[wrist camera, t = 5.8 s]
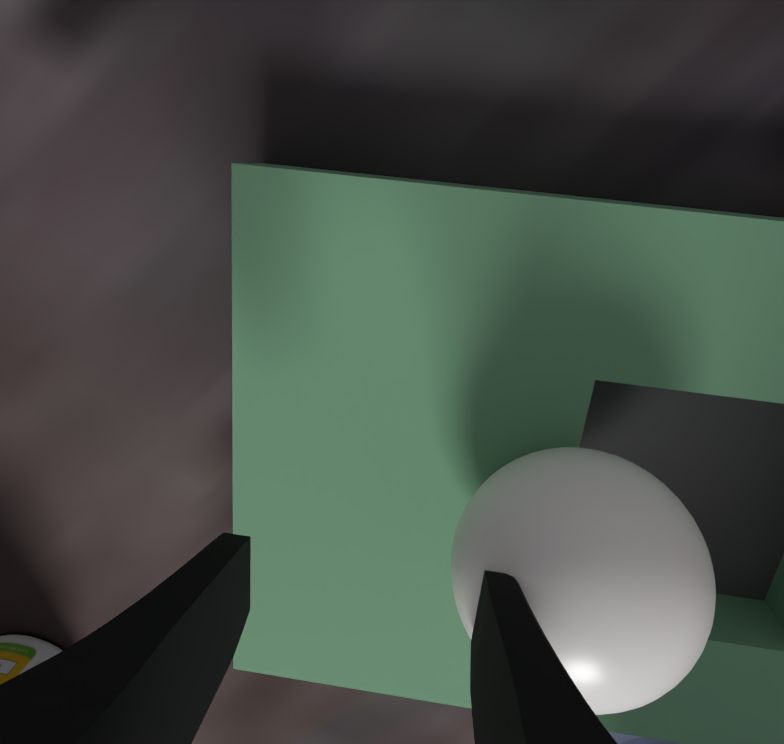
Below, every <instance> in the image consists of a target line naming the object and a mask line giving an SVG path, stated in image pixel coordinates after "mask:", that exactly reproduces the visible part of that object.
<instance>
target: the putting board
mask: <svg viewBox="0 0 784 744" xmlns="http://www.w3.org/2000/svg"><path fill="white" fill-rule="evenodd" d="M232 420H233V534H237V535H244V536H251V560H250V612H249V615H248V617H247V620H246V623H245V626H244V629H243V632H242V635H241V638H240V641H239V643H238V646H237V649H236V652H235V654H234V656H233V669H239V670H245V671H250V672H256V673H262V674H268V675H274V676H280V677H286V678H292V679H298V680H304V681H310V682H316V683H322V684H328V685H334V686H340V687H346V688H352V689H358V690H364V691H370V692H376V693H382V694H388V695H394V696H400V697H406V698H412V699H418V700H424V701H430V702H436V703H442V704H448V705H454V706H460V707H466V708H472V706H471V695H470V658H471V639H470V637H469V635H468V633H467V631H466V629H465V628H464V626H463V623H462V620H461V618H460V615H459V613H458V610H457V606H456V602H455V598H454V594H453V589H452V581H451V554H452V545H453V540H454V536H455V532H456V528H457V526H458V523H459V521H460V518H461V516H462V513H463V511H464V509H465V508H466V506H467V504H468V502H469V501H470V499H471V498H472V496H473V495H474V494H475V492H476V491H477V490H478V488H479V487H480V486H481V485H482V484H483V483H484V482H485V481H486V480H487V479H488V478H489V477H490V476H491V475H492V474H494V473H495V472H496V471H498V470H499V469H500V468H502V467H503V466H505V465H506V464H508V463H510V462H512V461H513V460H515V459H518V458H520V457H523V456H525V455H528V454H530V453H533V452H537V451H541V450H545V449H551V448H560V447H580V448H587V449H594V450H599V451H602V452H606V453H609V454H613V455H616V456H619V457H621V458H623V459H626V460H628V461H631V462H632V463H634V464H636V465H638V466H639V467H641V468H643V469H645V470H646V471H648V472H649V473H651V474H652V475H653V476H655V477H656V478H657V479H659V480H660V481H661V482H662V483H664V484H665V485H666V486H667V487H668V488H669V489H670V490H671V491H672V492H673V493H674V494H675V495H676V496H677V497H678V498H679V499H680V501H681V502H682V503H683V505H684V506H685V507H686V509H687V510H688V511H689V513H690V514H691V516H692V517H693V518H694V520H695V522H696V524H697V526H698V528H699V529H700V531H701V533H702V535H703V537H704V540H705V542H706V544H707V547H708V550H709V553H710V557H711V561H712V565H713V570H714V576H715V585H716V603H715V613H714V620H713V625H712V629H711V632H710V635H709V637H708V640H707V642H706V645H705V648H704V650H703V652H702V654H701V656H700V657H699V659H698V660H697V662H696V663H695V665H694V666H693V668H692V669H691V671H690V672H689V673H688V674H687V675H686V676H685V677H684V678H683V679H682V680H681V681H680V682H679V683H678V685H677V686H676V687H674V688H673V689H671V690H670V691H668V692H667V693H666V694H664V695H663V696H661V697H660V698H658V699H657V700H655V701H653V702H651V703H649V704H646V705H644V706H642V707H639V708H636V709H632V710H629V711H625V712H620V713H613V714H604V715H596V716H597V717H598V719H599V720H600V721H601V723H602V724H603V725H604V727H605V728H606V729H607V731H609V732H615V733H621V734H627V735H633V736H639V737H645V738H651V739H657V740H663V741H669V742H675V743H681V744H784V218H782V217H772V216H763V215H753V214H743V213H734V212H724V211H715V210H705V209H696V208H686V207H677V206H667V205H658V204H648V203H639V202H629V201H619V200H610V199H600V198H591V197H581V196H572V195H562V194H553V193H543V192H534V191H524V190H514V189H505V188H495V187H486V186H476V185H467V184H457V183H448V182H438V181H429V180H419V179H410V178H400V177H390V176H381V175H371V174H362V173H352V172H343V171H333V170H324V169H314V168H305V167H295V166H286V165H276V164H266V163H232Z"/></svg>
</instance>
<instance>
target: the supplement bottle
mask: <svg viewBox="0 0 784 744" xmlns="http://www.w3.org/2000/svg"><path fill="white" fill-rule="evenodd" d="M62 651H63V650H61V649H60V648H58V647H56V646H55V645H53V644H51V643H49V642H46V641H44V640H41V639H38V638H35V637H31V636H25V635H4V636H0V684H2V683H4V682H6V681H8V680H10V679H12V678H14V677H15V676H17V675H19V674H21V673H23V672H25V671H27V670H29V669H30V668H32V667H34V666H36V665H38V664H40V663H42V662H44V661H46V660H47V659H49V658H51V657H53V656H55V655H56V654H58V653H60V652H62Z"/></svg>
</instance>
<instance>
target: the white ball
mask: <svg viewBox="0 0 784 744" xmlns="http://www.w3.org/2000/svg"><path fill="white" fill-rule="evenodd" d="M484 570H487V571H494V572H501V573H506V574H508V575H511V576H513V577H515V579H516V580H517V582H518V583H519V585H520V587H521V589H522V591H523V593H524V595H525V597H526V600H527V602H528V604H529V606H530V608H531V610H532V612H533V613H534V615H535V617H536V619H537V621H538V623H539V625H540V627H541V628H542V630H543V632H544V634H545V636H546V638H547V639H548V641H549V643H550V644H551V646H552V648H553V649H554V651H555V653H556V655H557V656H558V658H559V660H560V661H561V663H562V665H563V666H564V668H565V669H566V671H567V673H568V674H569V676H570V677H571V679H572V681H573V682H574V684H575V685H576V687H577V688H578V690H579V691H580V693H581V694H582V696H583V697H584V699H585V700H586V702H587V703H588V704H589V706H590V707H591V709H592V710H593V712H594V713H595V714H596V715H604V714H613V713H620V712H625V711H629V710H632V709H636V708H639V707H642V706H644V705H646V704H649V703H651V702H653V701H655V700H657V699H658V698H660V697H661V696H663V695H664V694H666V693H667V692H668V691H670V690H671V689H673V688H674V687H676V686H677V685H678V683H679V682H680V681H681V680H682V679H683V678H684V677H685V676H686V675H687V674H688V673H689V672H690V671H691V669H692V668H693V666H694V665H695V663H696V662H697V660H698V659H699V657H700V656H701V654H702V652H703V650H704V648H705V645H706V642H707V640H708V637H709V635H710V632H711V629H712V625H713V620H714V613H715V603H716V585H715V576H714V570H713V565H712V561H711V557H710V553H709V550H708V547H707V544H706V542H705V540H704V537H703V535H702V533H701V531H700V529H699V528H698V526H697V524H696V522H695V520H694V518H693V517H692V516H691V514H690V513H689V511H688V510H687V509H686V507H685V506H684V505H683V503H682V502H681V501H680V499H679V498H678V497H677V496H676V495H675V494H674V493H673V492H672V491H671V490H670V489H669V488H668V487H667V486H666V485H665V484H664V483H662V482H661V481H660V480H659V479H657V478H656V477H655V476H653V475H652V474H651V473H649V472H648V471H646V470H645V469H643V468H641V467H639V466H638V465H636V464H634V463H632V462H631V461H628V460H626V459H623V458H621V457H619V456H616V455H613V454H609V453H606V452H602V451H599V450H594V449H587V448H580V447H560V448H551V449H545V450H541V451H537V452H533V453H530V454H528V455H525V456H523V457H520V458H518V459H515V460H513V461H512V462H510V463H508V464H506V465H505V466H503V467H502V468H500V469H499V470H498V471H496V472H495V473H494V474H492V475H491V476H490V477H489V478H488V479H487V480H486V481H485V482H484V483H483V484H482V485H481V486H480V487H479V488H478V490H477V491H476V492H475V494H474V495H473V496H472V498H471V499H470V501H469V502H468V504H467V506H466V508H465V509H464V511H463V513H462V516H461V518H460V521H459V523H458V526H457V528H456V532H455V536H454V540H453V545H452V554H451V581H452V589H453V594H454V598H455V602H456V606H457V610H458V613H459V615H460V618H461V620H462V623H463V626H464V628H465V629H466V631H467V633H468V635H469V637H470V639H472V633H473V628H474V623H475V618H476V612H477V607H478V602H479V596H480V591H481V586H482V581H483V575H484Z"/></svg>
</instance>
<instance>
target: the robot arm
mask: <svg viewBox="0 0 784 744" xmlns="http://www.w3.org/2000/svg"><path fill="white" fill-rule="evenodd" d="M250 560H251V536H244V535H237V534H230V533H223V534H221V535H220V536H218V537H217V538H216V539H215V540H214V541H212V542H211V543H210V544H209V545H208V546H206V547H205V548H204V549H203V550H202V551H200V552H199V553H198V554H197V555H196V556H194V557H193V558H192V559H191V560H190V561H188V562H187V563H186V564H185V565H183V566H182V567H181V568H180V569H179V570H177V571H176V572H175V573H174V574H172V575H171V576H170V577H168V578H167V579H166V580H165V581H163V582H162V583H161V584H160V585H158V586H157V587H156V588H154V589H153V590H152V591H151V592H149V593H148V594H147V595H145V596H144V597H143V598H141V599H140V600H139V601H137V602H136V603H134V604H133V605H132V606H130V607H129V608H127V609H126V610H125V611H123V612H122V613H120V614H119V615H118V616H116V617H115V618H113V619H112V620H111V621H109V622H108V623H106V624H105V625H103V626H102V627H100V628H99V629H97V630H96V631H94V632H93V633H91V634H90V635H88V636H86V637H85V638H83V639H82V640H80V641H78V642H77V643H75V644H73V645H72V646H70V647H68V648H67V649H65V650H63V651H62V652H60V653H58V654H56V655H55V656H53V657H51V658H49V659H47V660H46V661H44V662H42V663H40V664H38V665H36V666H34V667H32V668H30V669H29V670H27V671H25V672H23V673H21V674H19V675H17V676H15V677H14V678H12V679H10V680H8V681H6V682H4V683H2V684H0V744H191V743H192V741H193V739H194V737H195V735H196V733H197V731H198V729H199V727H200V725H201V723H202V721H203V718H204V716H205V714H206V712H207V710H208V708H209V706H210V704H211V702H212V700H213V698H214V696H215V694H216V692H217V690H218V688H219V686H220V684H221V682H222V679H223V677H224V675H225V673H226V671H227V669H228V667H229V665H230V663H231V661H232V659H233V656H234V654H235V652H236V649H237V646H238V643H239V641H240V638H241V635H242V632H243V629H244V626H245V623H246V620H247V617H248V615H249V612H250ZM470 695H471V706H472V717H473V728H474V738H475V744H681V743H675V742H669V741H663V740H657V739H651V738H645V737H639V736H633V735H627V734H621V733H615V732H609V731H607V729H606V728H605V727H604V725H603V724H602V723H601V721H600V720H599V719H598V717H597V716H596V714H595V713H594V712H593V710H592V709H591V707H590V706H589V704H588V703H587V702H586V700H585V699H584V697H583V696H582V694H581V693H580V691H579V690H578V688H577V687H576V685H575V684H574V682H573V681H572V679H571V677H570V676H569V674H568V673H567V671H566V669H565V668H564V666H563V665H562V663H561V661H560V660H559V658H558V656H557V655H556V653H555V651H554V649H553V648H552V646H551V644H550V643H549V641H548V639H547V638H546V636H545V634H544V632H543V630H542V628H541V627H540V625H539V623H538V621H537V619H536V617H535V615H534V613H533V612H532V610H531V608H530V606H529V604H528V602H527V600H526V597H525V595H524V593H523V591H522V589H521V587H520V585H519V583H518V582H517V580H516V579H515V577H513V576H511V575H508V574H506V573H501V572H494V571H487V570H484V575H483V581H482V586H481V591H480V596H479V602H478V607H477V612H476V618H475V623H474V628H473V633H472V639H471V658H470Z"/></svg>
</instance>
